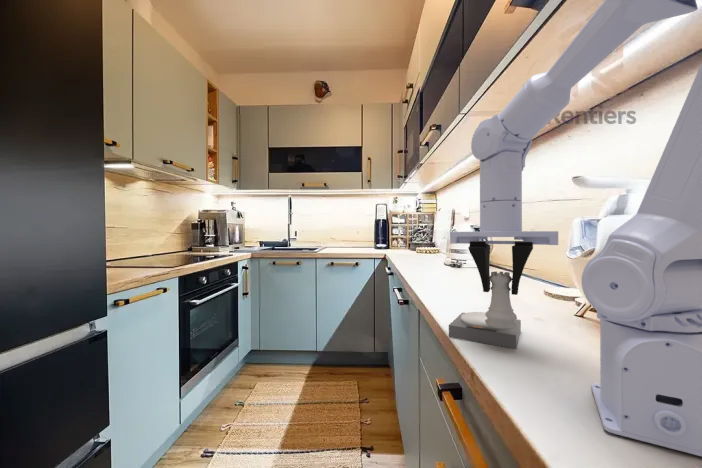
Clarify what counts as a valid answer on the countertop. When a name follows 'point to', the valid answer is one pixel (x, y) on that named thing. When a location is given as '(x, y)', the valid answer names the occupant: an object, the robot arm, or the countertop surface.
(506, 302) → the rook chess piece
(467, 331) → the kitchen scale
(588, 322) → the countertop surface
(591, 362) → the countertop surface
